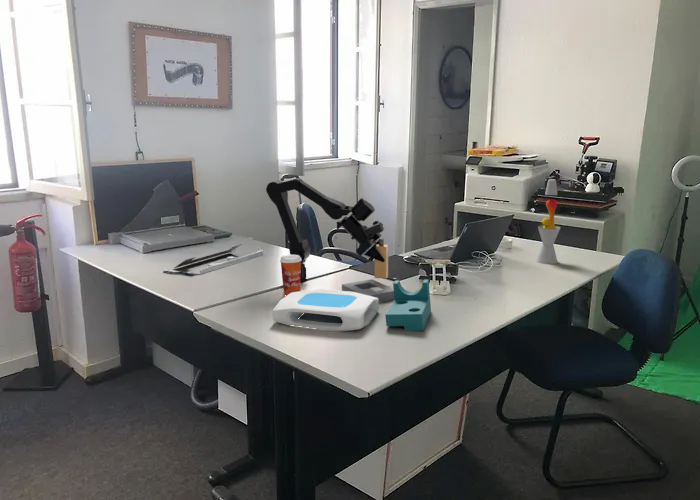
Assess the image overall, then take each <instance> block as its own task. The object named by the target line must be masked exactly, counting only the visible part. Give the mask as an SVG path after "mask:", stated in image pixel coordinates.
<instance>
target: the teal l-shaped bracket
mask: <svg viewBox="0 0 700 500" xmlns="http://www.w3.org/2000/svg"><path fill="white" fill-rule="evenodd" d="M392 285H393V287H392V288H393V289H394V299H393V300H392V303H391V304H390V306H389V308H388V309H387V311H386V313H385V325H386V327H404V331H414V332H416V331H418V332H420V331H422V332H423V331H424V330H425V326H426V324H427V321H428V319H429V317H430V314H431V312H432V306H431V305H432V304H431V293H430V291H431V290H430V281H429V279H423V280H422V283H421V285H422V286H421V288H419V289H418V290H416V291H409V290H407V289H405V288H404V287H403V285H402V284H401V281H400V280H394V282H393V283H392Z"/></svg>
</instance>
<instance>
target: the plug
mask: <svg viewBox="0 0 700 500" xmlns="http://www.w3.org/2000/svg"><path fill="white" fill-rule="evenodd" d="M378 240H379V245H378V244H377V250H378V251H379V252H380V254H381V255H382V257H383V258H384V260H385V261H384V262H381V261H378V260H376V259H374V258H373V259H374V265H373V267H374V279H383V280H384V279H387V278H388V277H389V244H385V239H384V238H379V239H378Z"/></svg>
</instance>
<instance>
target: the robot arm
mask: <svg viewBox="0 0 700 500" xmlns="http://www.w3.org/2000/svg"><path fill="white" fill-rule="evenodd" d="M265 191H266V194H267V196H268V198H269V199H270V201H271V202H272V203H273V204H274V205H275V206H276V208H277V212H278V214H279V217H280V219H281V222H282V225H283V228H284V230H285V233H286V235H287V238H288V241H289V243H288V250H289V255H299V256H300V257H301V259H302V260H301V274H300V282H305V281H308V278H307V267H306V260H307V259H308V258H309V256H310V254H311V250H312V248H311V246H310V245H309V241H308V240H309V239H303V237H301V235H300V234H301V233H300V232H299V229H298V227H297V223H296V220H295V218H294V216H293V213H292V210H291V207H290V204H289V201H288V200H289V199H288V198H289V196H288V195H289V194H288V192H290V191H296V192H298V193H299V194H300V195H303V197H306V199H308V200H310V201H311V202H313V203H315V205H318V206H319V207H320V208H321V209H322V210H323V211H324V213H325V214H326V215H327V216H328V217H330V218H331V219H332V220H333V221H334V220H337V222H336V230H340V229H341V228H343V229H344V230H345V231H346V232H347V233H348V235H350V237H351V238H350V239H351V240H352V241H353V240H355V242H356V243H357V244H358V247H357V248H356V254H357V255H358V256H359V257H362V256H366V257H368V258H372V259H376V260H378V261H381V262H384V261H385V260H384V258H383V257H382V255H381V254H380V252H379V251H378V250H377V244H378V245H379V239H381V237H382V234H381V233H383V232H384V231H385V228H384V224H383V223H382V222H381V221H379V220H375V221H373V222H372V225H371V226H369V227H368V226H367V225H362V223H361V221H362V222H365V221H366V220H367V219H369V218H370V216H371V215H372V214H374V212H376V209H375V208H374V206H373V205H372V204H371V203H370V202H369V201H367V200H365V199H364V198H363V197H362V198H360V199H358V201H357V203H355V204H354V205H353V206H350V205H346V204H345V203H344V202H342V201H339V200H338V199H335V198H331V197H329V196H327V195H325V194H323V193H322V192H320V191H319V190H317V189H316V188H315V187H313V186H311V185H310V184H308V183H306V182H305V181H304V180H303V179H301V178H300V177H296V178H293V179H291V180H285V181H282V180H281V179H280V180H275V181H271V182H269V183H268V184H267V186H266V188H265ZM349 214H350V215H349ZM348 215H349V216H348ZM340 219H341V220H340Z"/></svg>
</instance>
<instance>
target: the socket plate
mask: <svg viewBox="0 0 700 500" xmlns="http://www.w3.org/2000/svg"><path fill="white" fill-rule="evenodd" d="M341 291H350V292H357V293H360V294H364V295H368V296H372V297H376V298H378V303H381V302H387V301H394V288H393V287H390V286H388V285H386V284H384V283H381V282H380V281H378V280H375V279H373V278H371V279H366V280H359V281H355V282H348V283H341Z"/></svg>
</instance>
